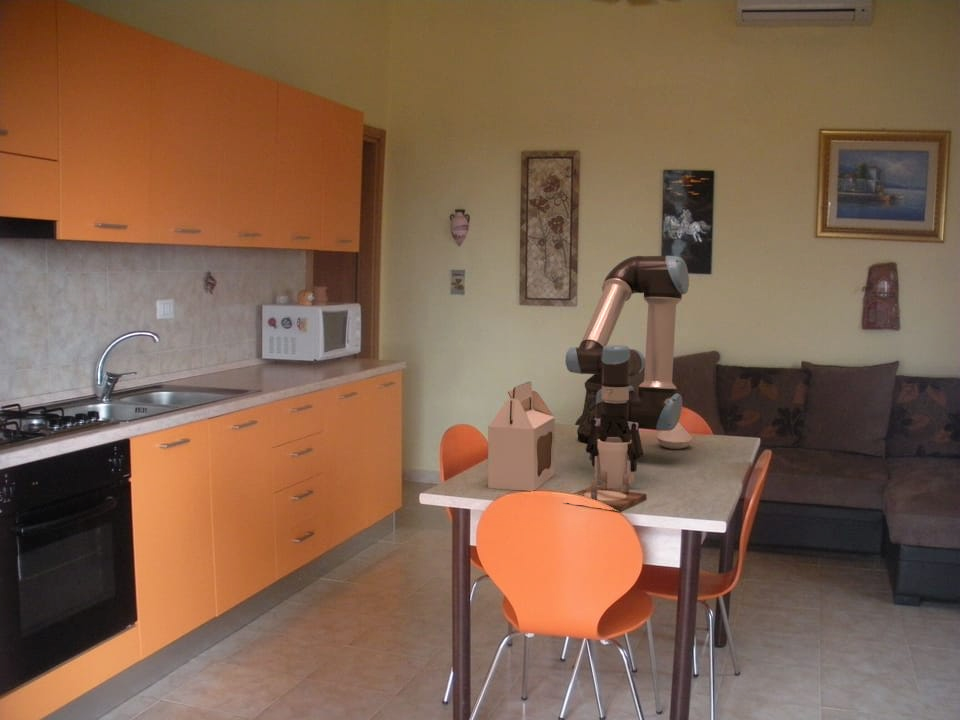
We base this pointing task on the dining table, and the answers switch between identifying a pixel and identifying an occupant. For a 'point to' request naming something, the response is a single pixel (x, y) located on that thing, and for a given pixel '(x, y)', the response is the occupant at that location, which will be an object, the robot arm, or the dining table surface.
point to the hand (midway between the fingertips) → (613, 480)
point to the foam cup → (613, 460)
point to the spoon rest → (674, 438)
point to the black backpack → (589, 407)
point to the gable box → (521, 442)
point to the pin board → (613, 493)
